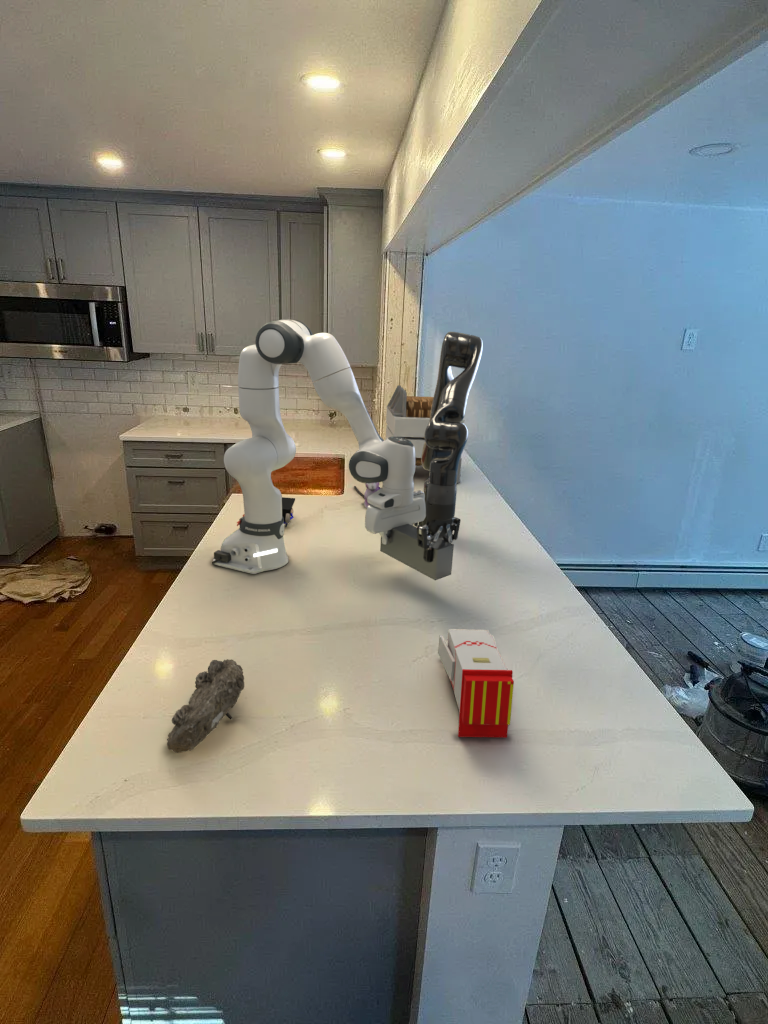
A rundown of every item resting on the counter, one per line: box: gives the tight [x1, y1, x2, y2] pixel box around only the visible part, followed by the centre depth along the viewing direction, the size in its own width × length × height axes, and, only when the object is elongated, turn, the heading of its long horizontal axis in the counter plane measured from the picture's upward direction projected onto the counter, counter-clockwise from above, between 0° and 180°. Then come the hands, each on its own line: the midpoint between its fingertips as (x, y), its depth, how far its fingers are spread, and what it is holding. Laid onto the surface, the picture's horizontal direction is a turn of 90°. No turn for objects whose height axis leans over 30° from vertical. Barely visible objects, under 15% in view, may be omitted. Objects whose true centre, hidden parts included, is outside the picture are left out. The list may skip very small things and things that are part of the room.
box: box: [379, 524, 455, 581], centre depth 157 cm, size 23×6×9 cm, turn 40°
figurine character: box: [282, 496, 296, 528], centre depth 204 cm, size 7×8×15 cm
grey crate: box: [384, 384, 465, 484], centre depth 268 cm, size 34×33×41 cm
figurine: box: [363, 482, 381, 509], centre depth 225 cm, size 9×10×15 cm
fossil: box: [166, 658, 245, 754], centre depth 106 cm, size 22×10×15 cm
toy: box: [437, 628, 515, 738], centre depth 117 cm, size 12×13×30 cm
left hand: (395, 540), depth 163 cm, fingers closed on box, 6 cm apart
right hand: (436, 558), depth 151 cm, fingers closed on box, 6 cm apart
